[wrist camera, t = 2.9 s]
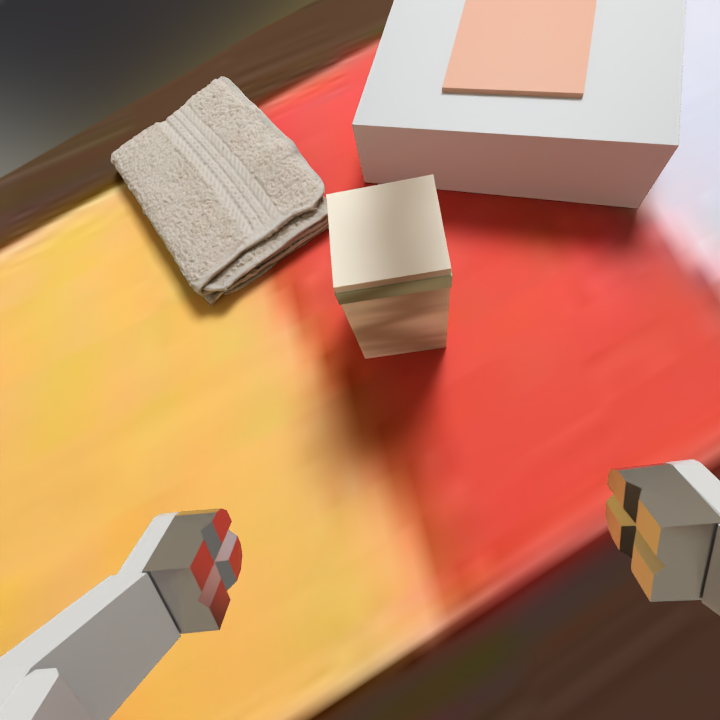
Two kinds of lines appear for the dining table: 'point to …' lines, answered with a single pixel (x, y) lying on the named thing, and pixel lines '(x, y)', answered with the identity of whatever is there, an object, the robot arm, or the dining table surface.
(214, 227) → the washcloth
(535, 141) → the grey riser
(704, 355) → the dining table surface
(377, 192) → the block
